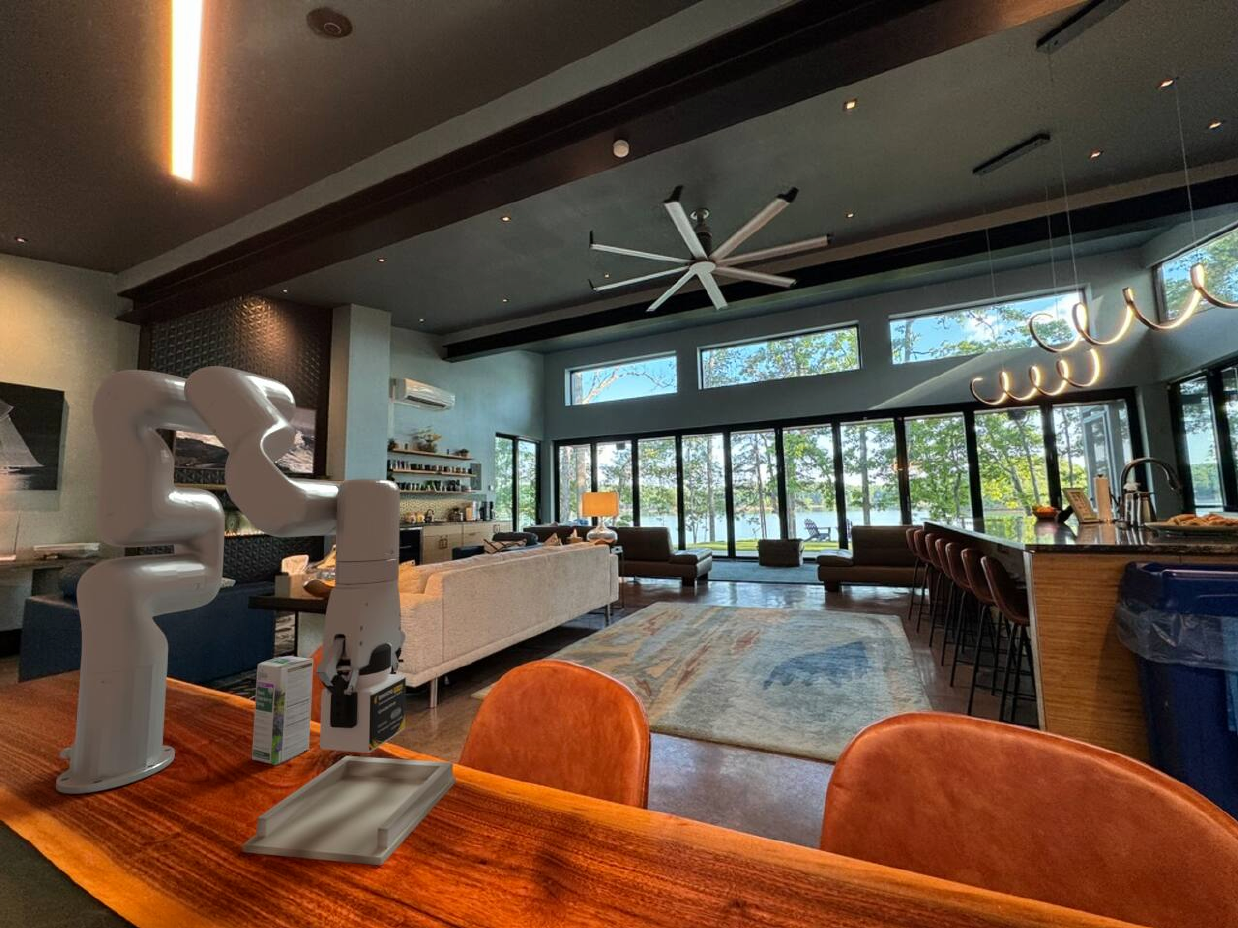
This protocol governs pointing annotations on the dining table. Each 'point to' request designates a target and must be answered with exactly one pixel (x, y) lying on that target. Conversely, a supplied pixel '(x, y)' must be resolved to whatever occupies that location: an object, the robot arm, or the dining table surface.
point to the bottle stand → (353, 810)
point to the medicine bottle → (369, 707)
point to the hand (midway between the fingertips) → (364, 712)
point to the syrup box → (282, 709)
